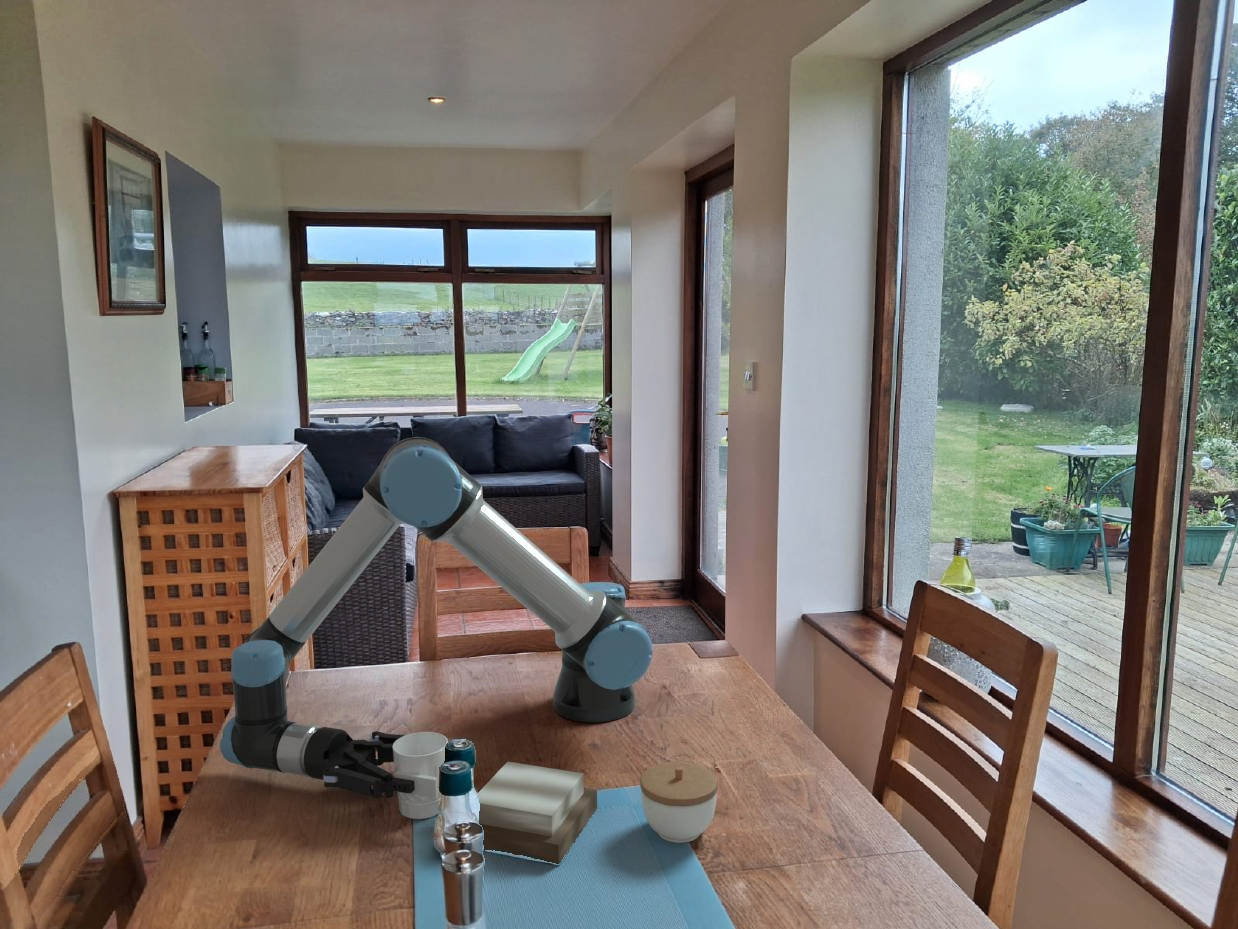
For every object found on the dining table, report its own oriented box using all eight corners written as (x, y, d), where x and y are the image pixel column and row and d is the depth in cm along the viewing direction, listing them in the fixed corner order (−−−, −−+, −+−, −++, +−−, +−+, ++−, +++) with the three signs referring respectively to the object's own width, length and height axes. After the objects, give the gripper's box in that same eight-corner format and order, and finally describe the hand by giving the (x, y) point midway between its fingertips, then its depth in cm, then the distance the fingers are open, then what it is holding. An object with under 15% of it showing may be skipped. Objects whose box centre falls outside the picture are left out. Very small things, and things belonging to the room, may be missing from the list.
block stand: (503, 792, 139) (502, 755, 138) (597, 808, 134) (596, 770, 134) (456, 846, 125) (454, 805, 124) (558, 866, 120) (558, 823, 119)
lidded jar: (694, 862, 121) (694, 795, 120) (625, 837, 127) (625, 774, 126) (730, 824, 130) (731, 762, 129) (664, 803, 136) (664, 743, 134)
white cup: (386, 819, 132) (383, 754, 130) (407, 792, 140) (405, 730, 138) (439, 824, 131) (436, 758, 129) (457, 796, 138) (455, 733, 137)
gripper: (356, 745, 150) (483, 766, 143) (273, 808, 131) (415, 835, 124) (354, 702, 149) (482, 720, 142) (270, 759, 129) (413, 783, 122)
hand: (451, 774), depth 133 cm, fingers closed on white cup, 7 cm apart
